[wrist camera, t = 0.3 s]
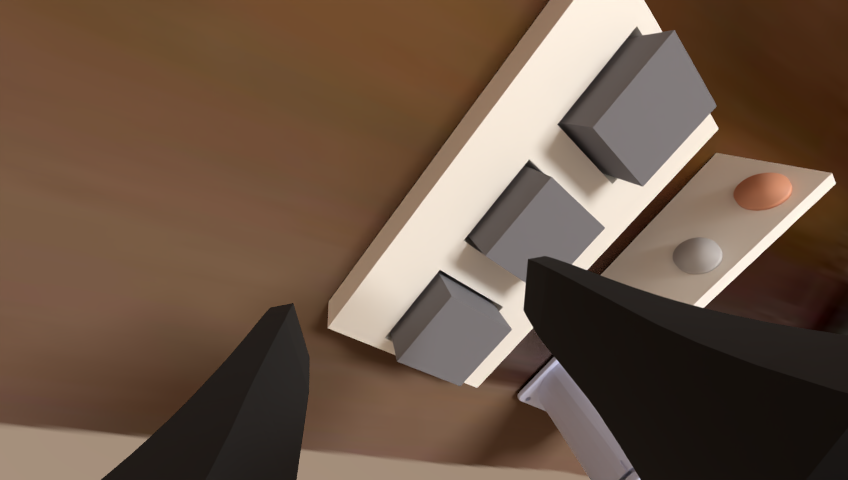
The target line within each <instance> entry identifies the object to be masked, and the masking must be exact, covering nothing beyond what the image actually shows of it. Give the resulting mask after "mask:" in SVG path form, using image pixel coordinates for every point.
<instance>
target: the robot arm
mask: <svg viewBox="0 0 848 480" xmlns="http://www.w3.org/2000/svg"><path fill="white" fill-rule="evenodd" d="M523 311H524V313H525V314H526V316H527V318H528V320H529V321H530V323H531V325H532V326H533V328H534V330H535V331H536V333H537V335H538V336H539V338H540V339H541V340H542V341H543V343H544V344H545V345H546V347H547V348H548V349H549V350H550V352H551V353H552V354H553V356H554V357H553V358H552V359H551V360H550V361H549V362H548V363H547V364H546V365H545V366H544V367H543V368H542V369H541V370H540V371H539V372H538V374H537V375H536V376H535V377H534V378H533V379H532V380H531V381H530V382H529V383H528V384H527V385H526V386H525V387H524V388H523V389H522V390H521V391H520V392H519V393H518V395H517V396H518V399H519V400H520V401H522V402H524V403H527V404H529V405H532V406H534V407H537V408H539V409H541V410H544V411H546V412H547V413H548V415H549V416H550V418H551V419H552V421H553V422H554V424H555V425H556V427H557V428H558V430H559V432H560V433H561V435H562V436H563V438H564V439H565V441H566V442H567V444H568V445H569V447H570V449H571V450H572V452H573V453H574V455H575V456H576V458H577V459H578V461H579V462H580V464H581V466H582V467H583V469H584V470H585V472H586V473H587V475H588V476H589V478H590V479H591V480H848V335H841V334H834V333H828V332H821V331H815V330H809V329H802V328H796V327H790V326H785V325H779V324H774V323H769V322H763V321H759V320H754V319H749V318H744V317H740V316H735V315H730V314H726V313H722V312H717V311H713V310H709V309H705V308H701V307H698V306H694V305H690V304H686V303H683V302H679V301H675V300H672V299H669V298H665V297H662V296H659V295H656V294H653V293H650V292H646V291H643V290H640V289H637V288H634V287H631V286H629V285H626V284H623V283H620V282H617V281H614V280H612V279H609V278H606V277H604V276H601V275H598V274H596V273H593V272H590V271H588V270H585V269H582V268H580V267H577V266H574V265H572V264H569V263H566V262H563V261H560V260H557V259H554V258H551V257H547V256H542V257H537V258H531V259H528V264H527V275H526V286H525V297H524V308H523ZM308 394H309V354H308V351H307V348H306V344H305V341H304V338H303V334H302V331H301V328H300V324H299V321H298V318H297V314H296V311H295V308H294V304H293V303H292V304H287V305H282V306H277V307H271V308H270V309H269V310H268V311H267V312H266V313H265V314H264V315H263V317H262V318H261V319H260V320H259V322H258V323H257V324H256V325H255V326H254V328H253V329H252V330H251V331H250V332H249V334H248V335H247V336H246V337H245V338H244V340H243V341H242V342H241V343H240V344H239V345H238V347H237V348H236V349H235V350H234V351H233V352H232V354H231V355H230V356H229V357H228V358H227V359H226V361H225V362H224V363H223V364H222V365H221V366H220V367H219V368H218V369H217V370H216V372H215V373H214V374H213V375H212V376H211V377H210V378H209V379H208V380H207V381H206V382H205V383H204V384H203V385H202V387H201V388H200V389H199V390H198V391H197V392H196V393H195V394H194V395H193V396H192V397H191V398H190V399H189V400H188V401H187V402H186V403H185V404H184V405H183V406H182V407H181V408H180V409H179V410H178V411H177V412H176V413H175V414H174V415H173V416H172V417H171V418H170V419H169V420H168V421H167V422H166V423H165V424H164V425H163V426H162V427H161V428H159V429H158V430H157V431H156V432H155V433H154V434H153V435H152V436H151V437H150V438H149V439H148V440H147V441H146V442H144V443H143V444H142V445H141V446H140V447H139V448H138V449H137V450H135V451H134V452H133V453H132V454H131V455H130V456H129V457H127V458H126V459H125V460H124V461H123V462H122V463H120V464H119V465H118V466H117V467H116V468H114V469H113V470H112V471H111V472H110V473H108V474H107V475H106V476H105V477H104V478H103V479H101V480H296V479H297V472H298V464H299V458H300V451H301V444H302V437H303V430H304V423H305V416H306V409H307V402H308Z"/></svg>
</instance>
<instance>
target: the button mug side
mask: <svg viewBox="0 0 848 480" xmlns="http://www.w3.org/2000/svg"><path fill="white" fill-rule="evenodd" d="M715 107H716V104H715V102H714V100H713V98H712V97H711V95H710V93H709V91H708V89H707V88H706V86H705V84H704V82H703V81H702V79H701V77H700V75H699V73H698V72H697V70H696V68H695V66H694V64H693V63H692V61H691V59H690V57H689V55H688V54H687V52H686V50H685V48H684V47H683V45H682V43H681V41H680V39H679V38H678V36H677V34H676V32H675V30H673V31H666V32H660V33H654V34H648V35H642V36H636V37H630V38H627V39H626V40H625V41H624V43H623V44H622V45H621V46H620V47H619V49H618V50H617V51H616V52H615V54H614V55H613V56H612V57H611V59H610V60H609V61H608V62H607V64H606V65H605V66H604V67H603V69H602V70H601V71H600V72H599V73H598V75H597V76H596V77H595V78H594V80H593V81H592V82H591V83H590V85H589V86H588V87H587V88H586V90H585V91H584V92H583V93H582V95H581V96H580V97H579V98H578V99H577V101H576V102H575V103H574V104H573V106H572V107H571V108H570V109H569V111H568V112H567V113H566V114H565V116H564V117H563V118H562V119H561V120H560V122H559V123H558V124H557V125H558V126H559V127H560V128H561V129H562V130H563V131H564V132H565V133H566V134H567V136H568V137H569V138H570V139H571V140H572V141H573V142H574V143H575V144H576V145H577V146H578V147H579V149H580V150H581V151H582V152H583V153H584V154H585V155H586V156H587V157H588V158H589V159H590V160H591V162H592V163H593V164H594V165H595V166H596V167H597V168H598V169H599V170H600V171H601V172H602V173H603V174H606V175H609V176H612V177H615V178H618V179H621V180H624V181H627V182H630V183H633V184H636V185H639V186H644V185H645V184H646V183H647V182H648V181H649V180H650V178H651V177H652V176H653V175H654V174H655V173H656V172H657V171H658V170H659V169H660V168H661V166H662V165H663V164H664V163H665V162H666V161H667V160H668V159H669V158H670V157H671V156H672V154H673V153H674V152H675V151H676V150H677V149H678V148H679V147H680V146H681V145H682V143H683V142H684V141H685V140H686V139H687V138H688V137H689V136H690V135H691V134H692V133H693V131H694V130H695V129H696V128H697V127H698V126H699V125H700V124H701V123H702V122H703V121H704V119H705V118H706V117H707V116H708V115H709V114H710V113H711V112H712V111H713V110H714V109H715Z"/></svg>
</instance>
